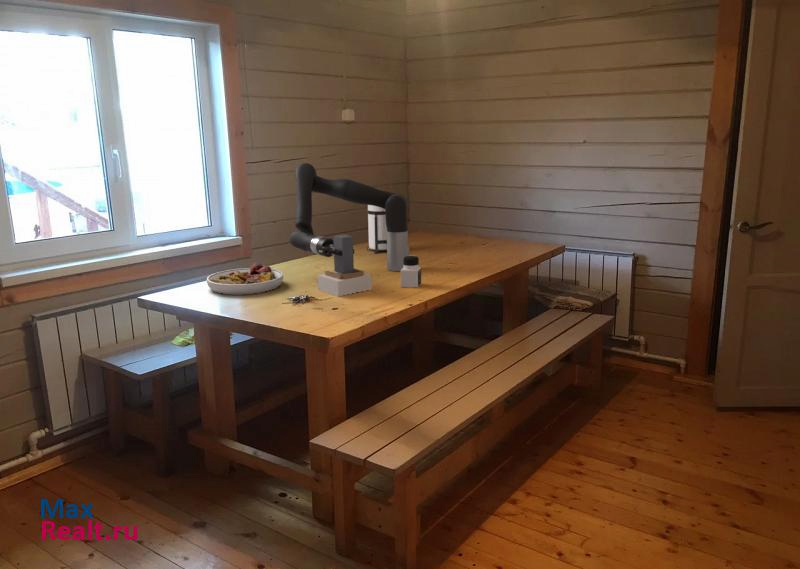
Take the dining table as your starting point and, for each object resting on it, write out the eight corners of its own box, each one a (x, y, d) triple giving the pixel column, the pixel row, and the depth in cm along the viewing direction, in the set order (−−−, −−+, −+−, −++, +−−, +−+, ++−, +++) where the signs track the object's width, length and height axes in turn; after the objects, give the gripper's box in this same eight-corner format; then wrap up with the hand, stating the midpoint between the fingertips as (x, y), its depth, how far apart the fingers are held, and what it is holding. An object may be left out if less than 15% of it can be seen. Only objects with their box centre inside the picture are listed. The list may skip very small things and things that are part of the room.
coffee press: (360, 253, 337) (358, 193, 330) (373, 247, 351) (372, 189, 344) (391, 255, 330) (390, 194, 323) (404, 249, 345) (403, 190, 338)
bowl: (268, 298, 254) (267, 278, 252) (194, 296, 259) (192, 276, 257) (293, 280, 283) (292, 261, 281) (226, 278, 288) (224, 260, 286)
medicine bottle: (418, 287, 266) (418, 258, 263) (400, 287, 267) (400, 257, 264) (421, 283, 273) (421, 254, 270) (404, 283, 274) (403, 254, 271)
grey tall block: (345, 269, 266) (344, 234, 263) (353, 271, 262) (352, 236, 258) (334, 271, 263) (333, 236, 260) (343, 273, 259) (342, 238, 255)
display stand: (351, 283, 274) (350, 265, 273) (372, 289, 264) (371, 270, 262) (318, 290, 265) (317, 271, 263) (338, 296, 254) (337, 277, 252)
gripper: (307, 239, 266) (331, 245, 253) (337, 235, 275) (362, 240, 262) (308, 257, 268) (332, 264, 255) (338, 253, 277) (362, 259, 264)
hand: (347, 252), depth 259 cm, fingers closed on grey tall block, 5 cm apart
